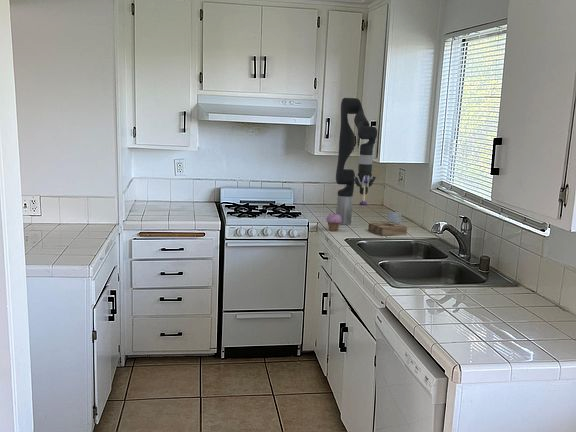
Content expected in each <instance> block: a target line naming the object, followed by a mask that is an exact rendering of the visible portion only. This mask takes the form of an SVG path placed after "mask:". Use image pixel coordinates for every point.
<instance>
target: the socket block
mask: <svg viewBox="0 0 576 432" xmlns="http://www.w3.org/2000/svg"><path fill="white" fill-rule="evenodd" d="M368 231H369V232H371V233H374V234H376V235H378V236H381V237H392V236H405V235H407V231H408V227H407V226H405V225H402V224H401V225H400V224H397V223H394V222H388V221H382V222H381V221H380V222H368Z"/></svg>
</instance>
